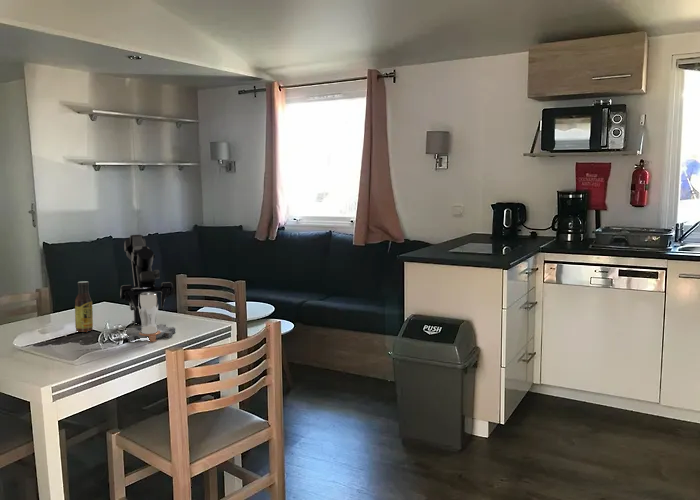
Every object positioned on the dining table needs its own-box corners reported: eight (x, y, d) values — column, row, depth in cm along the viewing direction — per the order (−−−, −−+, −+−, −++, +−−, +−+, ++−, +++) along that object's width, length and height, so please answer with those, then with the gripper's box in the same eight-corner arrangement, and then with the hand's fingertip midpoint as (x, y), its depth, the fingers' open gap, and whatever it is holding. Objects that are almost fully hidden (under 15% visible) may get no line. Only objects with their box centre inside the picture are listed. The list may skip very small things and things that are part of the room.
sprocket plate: (117, 332, 224) (116, 327, 224) (169, 326, 233) (169, 321, 233) (124, 345, 206) (123, 339, 206) (180, 338, 216) (180, 332, 216)
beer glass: (161, 333, 215) (160, 293, 213) (142, 335, 211) (141, 296, 209) (155, 329, 221) (154, 291, 219) (137, 332, 216) (135, 293, 215)
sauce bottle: (86, 334, 222) (84, 283, 219) (72, 333, 223) (69, 282, 221) (97, 329, 228) (94, 280, 226) (83, 329, 229) (80, 280, 227)
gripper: (119, 264, 212) (123, 298, 204) (171, 261, 220) (177, 294, 212) (118, 281, 220) (122, 315, 211) (168, 278, 228) (174, 311, 220)
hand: (149, 308), depth 213 cm, fingers open, 9 cm apart
